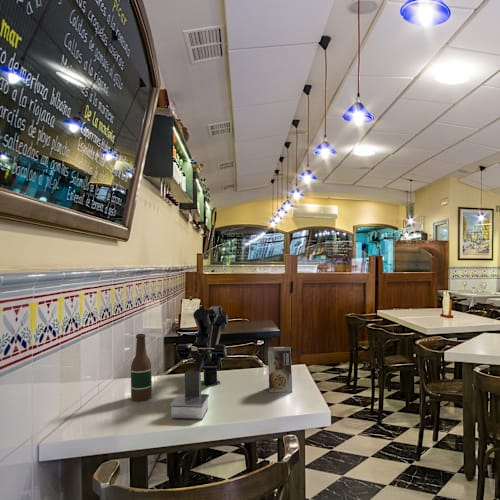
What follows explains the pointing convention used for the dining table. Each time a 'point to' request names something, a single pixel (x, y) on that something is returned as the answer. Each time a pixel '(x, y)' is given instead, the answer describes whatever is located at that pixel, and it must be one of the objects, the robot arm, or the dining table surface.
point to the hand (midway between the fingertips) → (198, 371)
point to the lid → (191, 391)
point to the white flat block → (189, 412)
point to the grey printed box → (280, 369)
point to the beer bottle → (141, 372)
